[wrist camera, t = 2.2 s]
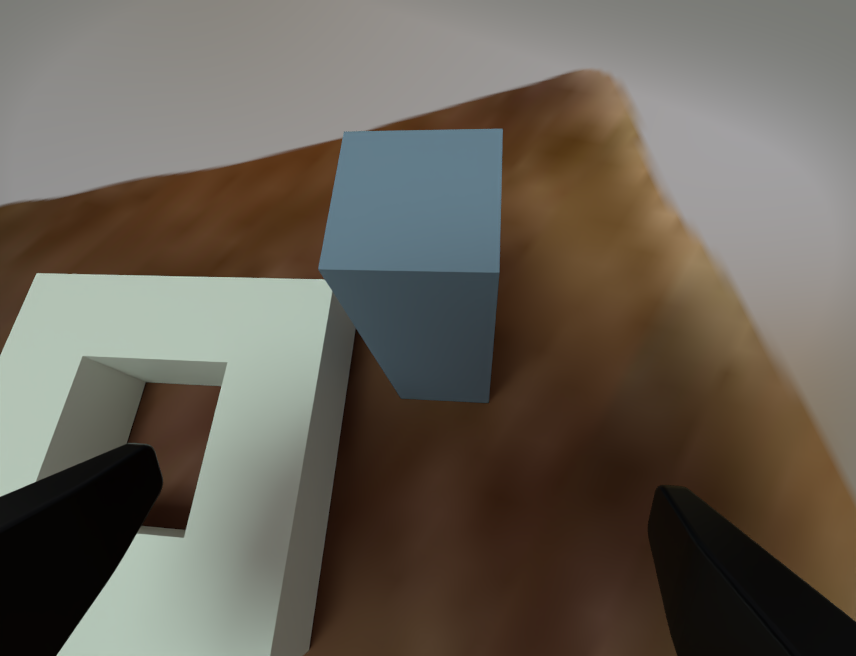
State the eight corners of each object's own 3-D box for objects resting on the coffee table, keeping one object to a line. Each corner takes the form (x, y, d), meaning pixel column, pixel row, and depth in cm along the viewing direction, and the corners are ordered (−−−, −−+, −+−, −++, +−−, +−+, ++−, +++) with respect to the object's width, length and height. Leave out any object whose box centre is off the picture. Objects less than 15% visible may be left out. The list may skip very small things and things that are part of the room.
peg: (490, 321, 22) (502, 128, 11) (488, 403, 21) (499, 272, 10) (408, 318, 23) (344, 132, 12) (401, 398, 21) (318, 269, 10)
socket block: (357, 317, 23) (334, 279, 20) (308, 650, 18) (265, 684, 14) (101, 310, 25) (36, 273, 21) (-10, 611, 20) (-123, 632, 16)
